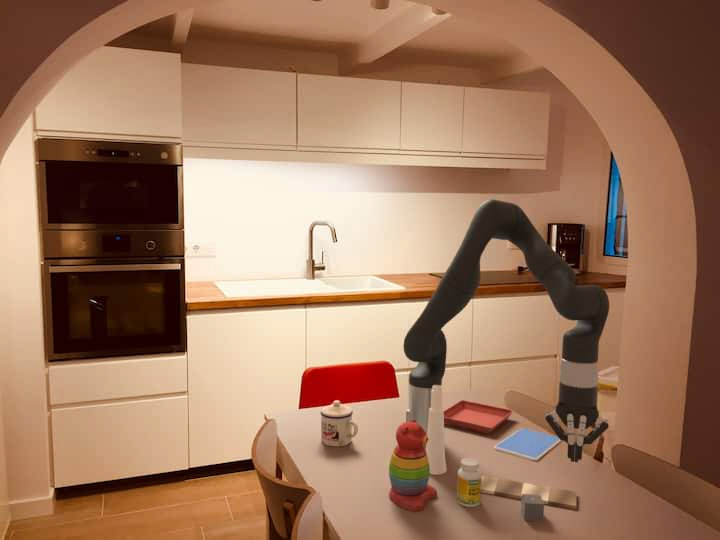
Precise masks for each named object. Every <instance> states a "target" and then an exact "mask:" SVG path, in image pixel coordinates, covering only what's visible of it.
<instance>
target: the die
mask: <svg viewBox="0 0 720 540" xmlns="http://www.w3.org/2000/svg"><path fill="white" fill-rule="evenodd" d="M520 500H521V501H520V502H521V503H520V504H521V505H520V511H521V516H522V518H523V520H524V521H528V522H530V521H531V522H544V512H545V504H544V503H543V500H542V498H541V496H540V495H531V494H522V499H520Z"/></svg>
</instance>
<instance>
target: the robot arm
mask: <svg viewBox="0 0 720 540" xmlns="http://www.w3.org/2000/svg"><path fill="white" fill-rule="evenodd" d="M467 228H468V229H467V231H466V233H465V235H464V238H463V239H462V241H461V244H460V245H459V248H458V250H457V251H456V253H455V254H454V257H453V258H452V261H451V262H450V265H448V267H447V269H446V271H445V273H444V274H443V276H442V277H441V279H440V281H439V283H438V284H437V287H436V289H435V290H434V292H433V294H432V296H431V297H430V299H429V300H428V302H427V304H426V306H425V307H424V309H423V311H422V313H421V314H420V315H419V317H418V318H417V319H416V321H415V322H414V323H413V325H412V326H411V327H410V328H409V330H408V331H407V333H406V335H405V337H404V340H403V345H402V346H403V353H404V355H405V357H406V358H407V360H409V361H412V362H415V363H417V365H416V366H415V367H414V368H413V369H412V370H411V371H410V372H409V375H408V402H407V404H408V407H407V409H406V411H405V422H410V421H411V420H412V419H414V420H415V423H418V424H419V425H421V427H422V428H423V429H424V431H425V432H426V433H427V431H428V417H429V408H430V407H431V390H432V389H433V385H440V386H441V390H443V389H442V387H443V385H442V384H443V378H444V375H445V373H446V363H447V350H448V345H447V338H446V335H445V333H444V331H443V330H442V329H443V328H444V327H445V326H446V325H447V324H448V323H449V322H450V321H452V320H453V319H454V318H455V317H456V316H458V315H459V314H460V313H461V312H462V311H463V310H464V309H465V308H466V307H467V306H468V304H469V303H470V302H471V300H472V298H473V297H474V295H475V294H476V292H477V290H479V289H478V288H479V286H480V283H481V259H482V258H481V257H482V255H483V253H484V251H485V249H486V248H487V246H488V244H489V243H490V241H492V239H494V240H495V239H496V240H503V241H508V242H510V243H512V244H513V245H515V246H516V247H517V248H518V249H519V250H520V252H522V254H523V256H524V261H525V264H526V267H527V269H528V271H529V272H530V274H531V275H532V276H533V278H535V280H537V281H538V283H540V284H541V286H542V287H543V288H544V289H545V290H546V292H547V294H548V297H549V298H550V301H551V302H552V304H553V307H554V308H555V310H556V312H557V313H558V315H560V316H562V317H563V318H565V319H566V320H568V321H577V322H576V325H575V326H574V327H573V328H571V329H569V330H567V331H565V333H563V337H562V343H561V345H562V347H561V349H562V350H561V362H560V367H559V384H558V385H559V386H558V387H559V388H558V402H557V404H556V406H555V409H554V410H553V411H551V412H550V411H549V412H546V414H545V421H546V422H547V423H548V425H549V427H550V428H551V429H552V431H553V432H554V433H555V434H556V435H555V436H556V437H559V439H560V440H562V441H564V442H565V443H566V444H567V459H570V462H572V463H579V461H582V458H583V446H584V445H592V444H593V443H594V442H595V441H596V440H597V439H598V438H599V437H600V436H602V435H603V434H604V433H605V432H606V431H607V430H608V429H609V421H608V420H607V419H605V418H603V417H602V416H601V415H600V412H599V409H598V405H597V404H598V388H599V378H600V377H599V372H600V371H599V346H600V341H601V336H602V335H603V331H604V329H605V325H606V324H607V323H606V322H607V319H608V317H609V311H610V298H609V296H608V293H607V292H606V290H605V289H604V288H603V287H602V286H600V285H598V284H584V285H582V284H580V285H575V284H574V283H575V282H576V279H577V278H576V272H575V270H574V268H573V267H571V265H570V264H568V262H567V261H565V260H564V259H563V258H562V257H561V256H560V255H559V254H558V253H557V252H556V251H555V250H554V249H553V248H552V247H551V246H550V245H549V244H548V243H547V242H546V240H545V239H544V238H543V236H542V235H541V233H540V232H539V231H538V230H537V229H536V227H535V226H534V224H533V222H532V221H531V219H530V218H529V217H528V216H527V214H526V213H525V211H524V210H523V209H522V208H521V207H520V206H519V205H517V204H515V203H512V202H507V201H505V200H498V199H493V198H492V199H487V200H485V201H483V202H482V203H481V204H480V205H479V207H478V208H477V210H476V211H475V213H474V215H473V216H472V218H471V222H470V224H469V226H468V227H467ZM558 419H560V421H561V422H562V423H563V424H564V426H565V427H566V428H567V432H565V430H564V429H563V427H562V426H561V425H560V423H559V420H558ZM593 423H595V427H594V428H592V429H591V430H590V432H588V433H587V434H586V435H585V431H586V430H587V429H589V428H590V426H592V425H593ZM575 429H577V436H576V440H575ZM562 441H561V442H562ZM424 448H425V449H426V445H425V446H424Z"/></svg>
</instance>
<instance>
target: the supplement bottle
mask: <svg viewBox="0 0 720 540" xmlns="http://www.w3.org/2000/svg"><path fill="white" fill-rule="evenodd" d="M479 463H480V462H479V460H477V459H475V458H471V457H466V458H462V459H461V461H460V468H459V469H458V470H457V483H456V484H457V487H456V490H457V491H456V492H457V493H456V496H457V497H456V500H457V503H458V504H459V505H461V506H463V507H466V508H468V507H469V508H474V507H477V506H479V505H480V503H481V501H482V500H481V498H482V497H481V496H482V492H481V476H482V472H481V470H480V469H479V468H480V467H479V466H480V464H479Z"/></svg>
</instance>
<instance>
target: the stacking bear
mask: <svg viewBox="0 0 720 540" xmlns="http://www.w3.org/2000/svg"><path fill="white" fill-rule="evenodd" d="M395 431H396V432H395V438H396V439H395V440H396V443H397V445H396V446H395V447H394V449H393V450H392V453H391V456H390V460H389V466H388V476H389V480H390V486H391V487H390V490H389V492H388V496H389V498H390V500H391V501H392V502H393V503H395V504H396V505H397V506H399V507H401V508H402V509H403V508H404V509H406V510H409V511H413V512H419V511H422V510H424V509H425V508H426V507H425V504H426V502H427V501H428V500H429V501H430V500H432V499H435V498H436V497H437V496H438V492H437V490H436V488H435V487H434V486H432V485H430V484H428V483H429V480H430V475H431V474H430V467H429V462H428V457H427V453H426V448H424V446H425V445H426V444H427V442H428V435H427V433H426V432H425V431H424V429H423V428H422V427H421V425H419V424H418V423H415V420H414V419H412V420H411V421H410V422H406V421H405V422H403V423H401V424H400V425H399V426H398V427H397V429H396V430H395Z"/></svg>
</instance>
